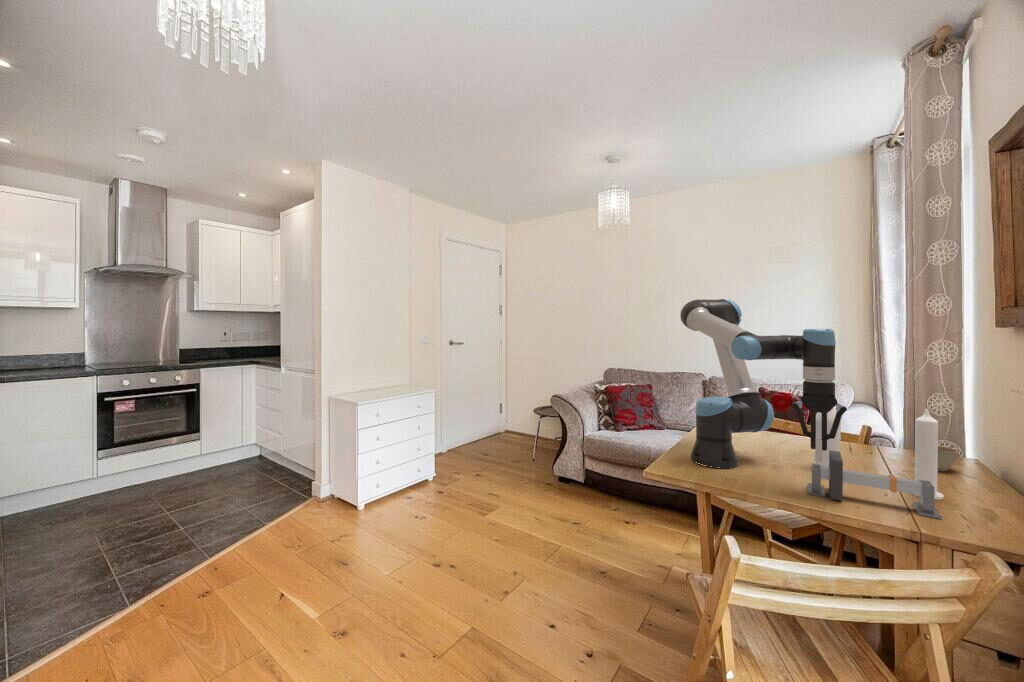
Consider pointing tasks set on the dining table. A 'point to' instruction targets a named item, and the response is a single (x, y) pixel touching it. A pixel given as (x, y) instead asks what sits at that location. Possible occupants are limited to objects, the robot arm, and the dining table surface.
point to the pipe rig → (880, 486)
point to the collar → (836, 475)
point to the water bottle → (831, 443)
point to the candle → (927, 451)
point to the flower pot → (946, 458)
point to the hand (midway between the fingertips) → (818, 460)
